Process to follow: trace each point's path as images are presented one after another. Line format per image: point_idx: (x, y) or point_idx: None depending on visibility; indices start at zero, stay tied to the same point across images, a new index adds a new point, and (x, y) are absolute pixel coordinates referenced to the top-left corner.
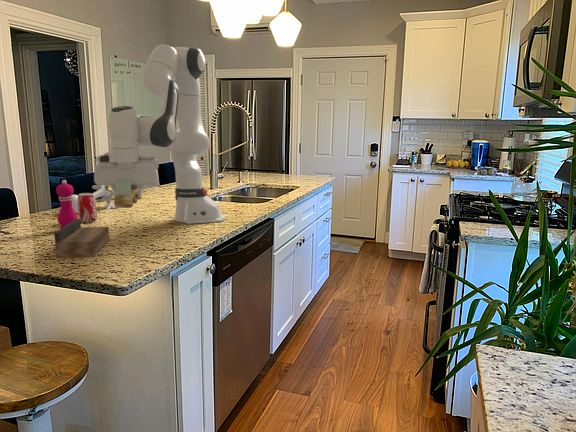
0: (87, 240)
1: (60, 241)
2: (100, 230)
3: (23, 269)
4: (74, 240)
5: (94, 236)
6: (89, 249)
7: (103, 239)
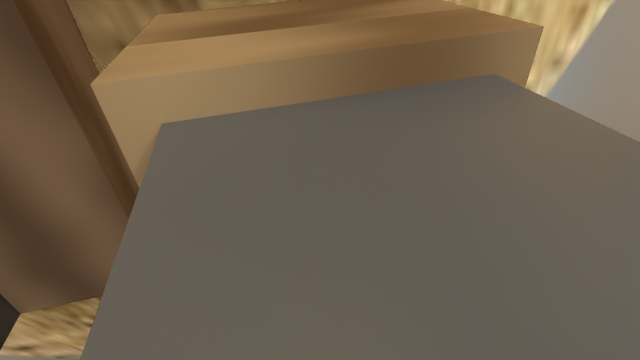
0: None
1: (16, 313)
2: (37, 101)
3: (30, 347)
4: (66, 286)
5: (114, 224)
6: None
7: (98, 108)
